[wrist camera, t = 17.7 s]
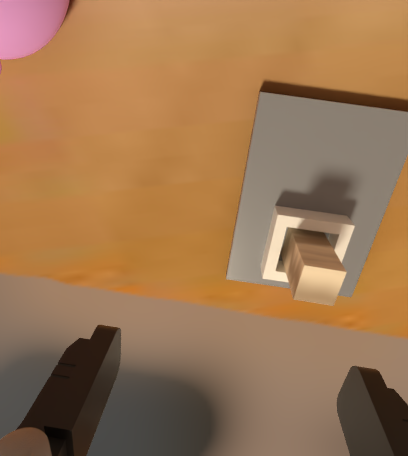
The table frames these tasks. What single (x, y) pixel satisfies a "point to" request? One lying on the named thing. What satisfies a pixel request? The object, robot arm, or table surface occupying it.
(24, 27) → the teapot
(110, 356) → the robot arm
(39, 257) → the table surface
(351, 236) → the jig board
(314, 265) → the block
